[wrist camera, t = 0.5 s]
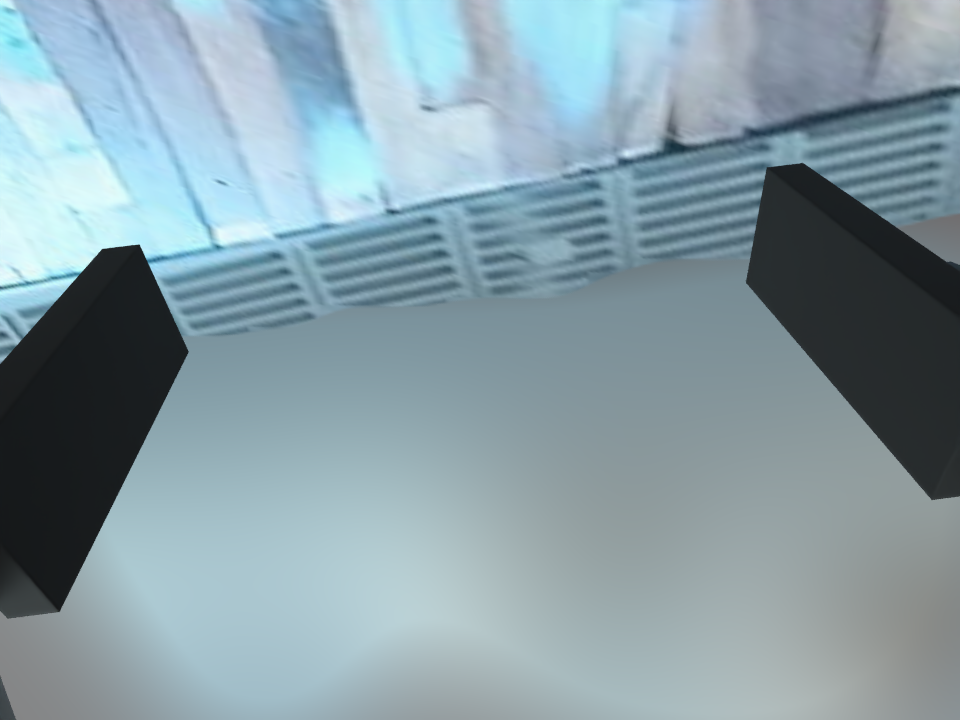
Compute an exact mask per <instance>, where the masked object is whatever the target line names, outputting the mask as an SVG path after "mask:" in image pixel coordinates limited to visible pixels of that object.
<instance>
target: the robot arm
mask: <svg viewBox="0 0 960 720" xmlns="http://www.w3.org/2000/svg"><path fill="white" fill-rule="evenodd" d="M746 283H747V284H748V285H749V287H750V288H751V289H752V290H753V291H754V293H755V294H756V295H757V296H758V297H759V298H760V299H761V301H762V302H763V303H764V304H765V305H766V307H767V308H768V309H769V310H770V311H771V312H772V313H773V315H775V317H776V318H777V319H778V321H779V322H780V323H781V324H782V325H783V326H784V327H785V329H786V330H787V331H788V332H789V333H790V335H791V336H792V337H793V338H794V339H795V340H796V342H797V343H798V344H799V345H800V346H801V348H802V349H803V350H804V351H805V352H806V353H807V355H808V356H809V357H810V358H811V359H812V360H813V362H814V363H815V364H816V365H817V366H818V367H819V369H820V370H821V371H822V372H823V373H824V374H825V376H826V377H827V378H828V379H829V380H830V381H831V383H832V384H833V385H834V386H835V387H836V388H837V389H838V391H839V392H840V393H841V394H842V395H843V397H844V398H845V399H846V400H847V401H848V402H849V404H850V405H851V406H852V407H853V408H854V410H855V411H856V412H857V413H858V414H859V415H860V416H861V418H862V419H863V420H864V421H865V422H866V424H867V425H868V426H869V427H870V428H871V429H872V431H873V432H874V433H875V434H876V435H877V436H878V438H879V439H880V440H881V441H882V442H883V443H884V445H885V446H886V447H887V448H888V449H889V450H890V452H891V453H892V454H893V455H894V456H895V457H896V459H897V460H898V461H899V462H900V463H901V464H902V466H903V467H904V468H905V469H906V470H907V472H908V473H909V474H910V475H911V476H912V477H913V478H914V480H915V481H916V482H917V483H918V484H919V486H920V487H921V488H922V489H923V490H924V491H925V493H926V494H927V495H928V496H929V497H930V498H931V500H935V499H943V498H951V497H958V496H960V265H958V264H955V263H953V262H946V261H944V260H943V259H941V258H940V257H938V256H937V255H936V254H934V253H933V252H931V251H929V250H928V249H927V248H925V247H924V246H922V245H921V244H920V243H918V242H916V241H915V240H914V239H912V238H911V237H909V236H908V235H907V234H905V233H904V232H902V231H901V230H899V229H898V228H896V227H895V226H894V225H892V224H891V223H889V222H888V221H886V220H885V219H883V218H882V217H880V216H879V215H878V214H876V213H875V212H873V211H872V210H870V209H869V208H867V207H866V206H865V205H863V204H862V203H860V202H859V201H857V200H856V199H854V198H853V197H851V196H850V195H849V194H847V193H846V192H844V191H843V190H841V189H840V188H838V187H837V186H836V185H834V184H833V183H831V182H830V181H828V180H827V179H825V178H824V177H822V176H821V175H820V174H818V173H817V172H815V171H814V170H812V169H811V168H809V167H808V166H807V165H805V164H804V163H800V164H792V165H784V166H776V167H767V169H766V175H765V180H764V186H763V191H762V197H761V203H760V208H759V214H758V219H757V225H756V230H755V236H754V241H753V247H752V252H751V258H750V263H749V269H748V274H747V280H746ZM187 354H188V349H187V347H186V345H185V343H184V341H183V338H182V336H181V334H180V332H179V330H178V327H177V325H176V323H175V321H174V319H173V317H172V314H171V312H170V310H169V308H168V306H167V303H166V301H165V299H164V297H163V295H162V293H161V290H160V288H159V286H158V284H157V282H156V280H155V277H154V275H153V273H152V271H151V269H150V266H149V264H148V262H147V260H146V258H145V256H144V253H143V251H142V249H141V247H140V245H131V246H123V247H115V248H107V249H102V250H101V251H100V252H99V253H98V255H97V256H96V257H95V258H94V259H93V260H92V261H91V262H90V264H89V265H88V266H87V267H86V268H85V269H84V270H83V271H82V273H81V274H80V275H79V276H78V277H77V278H76V279H75V281H74V282H73V283H72V284H71V285H70V286H69V287H68V288H67V290H66V291H65V292H64V293H63V294H62V295H61V296H60V297H59V299H58V300H57V301H56V302H55V303H54V304H53V305H52V306H51V308H50V309H49V310H48V311H47V312H46V313H45V314H44V315H43V317H42V318H41V319H40V320H39V321H38V322H37V323H36V325H35V326H34V327H33V328H32V329H31V330H30V331H29V332H28V334H27V335H26V336H25V337H24V338H23V339H22V340H21V341H20V343H19V344H18V345H17V346H16V347H15V348H14V349H13V350H12V352H11V353H10V354H9V355H8V356H7V357H6V358H5V359H4V361H3V362H2V363H1V364H0V611H1V612H2V613H3V614H4V615H5V616H6V617H7V618H16V617H23V616H30V615H39V614H47V613H54V612H60V610H61V607H62V606H63V604H64V602H65V600H66V598H67V596H68V594H69V592H70V590H71V587H72V586H73V584H74V582H75V579H76V578H77V576H78V573H79V571H80V569H81V567H82V565H83V563H84V561H85V559H86V557H87V555H88V553H89V551H90V549H91V547H92V545H93V543H94V541H95V539H96V537H97V535H98V533H99V531H100V529H101V527H102V525H103V523H104V521H105V519H106V517H107V515H108V513H109V511H110V509H111V507H112V505H113V503H114V501H115V499H116V497H117V495H118V493H119V491H120V489H121V487H122V485H123V483H124V481H125V479H126V477H127V475H128V473H129V471H130V469H131V467H132V465H133V463H134V461H135V459H136V457H137V455H138V453H139V451H140V449H141V447H142V445H143V443H144V441H145V439H146V436H147V435H148V432H149V431H150V429H151V427H152V425H153V423H154V421H155V418H156V417H157V415H158V413H159V410H160V409H161V406H162V405H163V402H164V400H165V399H166V397H167V395H168V392H169V390H170V388H171V386H172V384H173V382H174V380H175V378H176V376H177V374H178V372H179V370H180V368H181V366H182V364H183V362H184V360H185V358H186V356H187ZM0 720H16V719H15V716H14V713H13V710H12V708H11V705H10V702H9V699H8V697H7V694H6V691H5V688H4V686H3V683H2V680H1V677H0Z"/></svg>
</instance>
